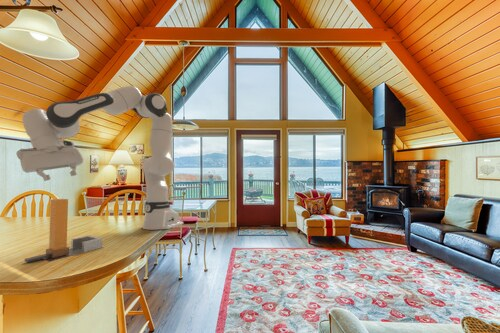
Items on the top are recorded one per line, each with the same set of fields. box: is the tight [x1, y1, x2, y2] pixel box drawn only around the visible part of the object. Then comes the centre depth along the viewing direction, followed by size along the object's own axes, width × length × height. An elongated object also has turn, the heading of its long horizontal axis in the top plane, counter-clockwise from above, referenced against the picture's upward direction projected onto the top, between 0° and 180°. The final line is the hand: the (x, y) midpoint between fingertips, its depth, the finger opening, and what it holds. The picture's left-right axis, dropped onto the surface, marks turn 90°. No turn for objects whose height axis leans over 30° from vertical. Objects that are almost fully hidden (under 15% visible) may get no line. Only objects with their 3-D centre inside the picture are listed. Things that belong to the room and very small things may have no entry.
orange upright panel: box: [24, 198, 70, 263], centre depth 80 cm, size 11×5×19 cm, turn 152°
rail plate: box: [42, 246, 104, 262], centre depth 86 cm, size 17×9×1 cm, turn 151°
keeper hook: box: [70, 235, 103, 253], centre depth 91 cm, size 6×9×4 cm
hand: (61, 177), depth 97 cm, fingers open, 8 cm apart
